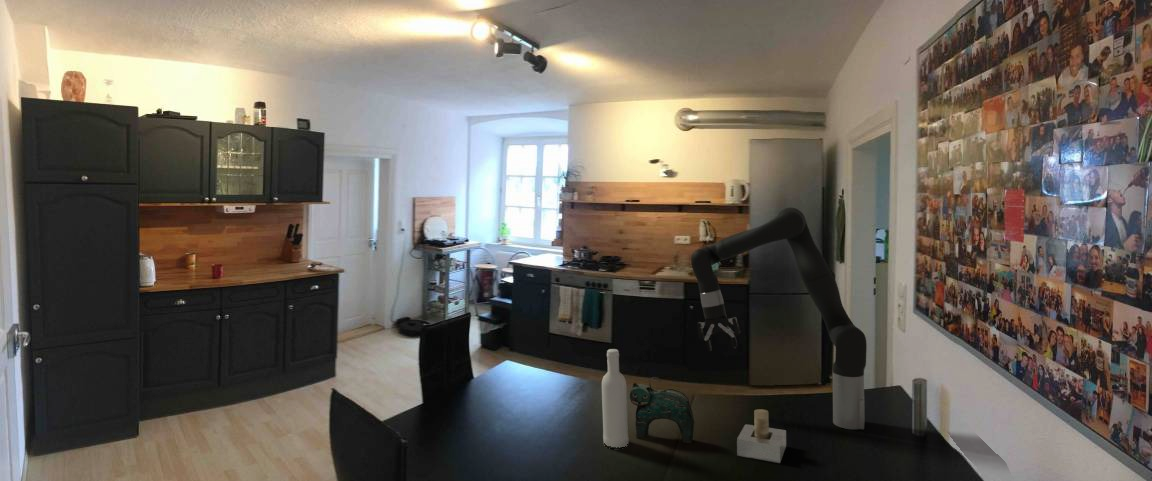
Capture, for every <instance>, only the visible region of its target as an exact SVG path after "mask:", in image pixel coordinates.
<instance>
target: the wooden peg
mask: <svg viewBox="0 0 1152 481" xmlns="http://www.w3.org/2000/svg"><path fill="white" fill-rule="evenodd" d="M753 412H754V413H753V416H754V419H753V420H754V426H755V437H756V438H762V439H768V440H769V428H770V424H769V411H768V410H767V409H763V408H761V409H759V408H758V409H755V410H754V411H753Z"/></svg>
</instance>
